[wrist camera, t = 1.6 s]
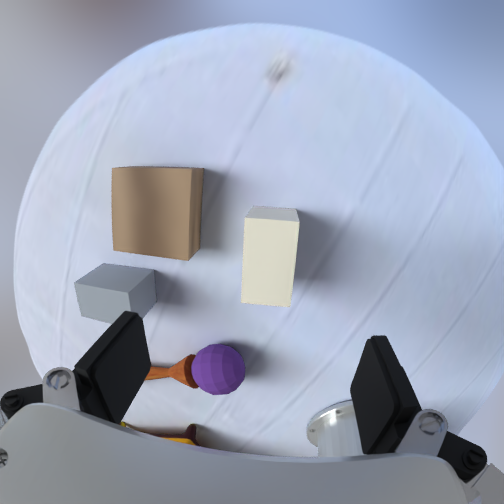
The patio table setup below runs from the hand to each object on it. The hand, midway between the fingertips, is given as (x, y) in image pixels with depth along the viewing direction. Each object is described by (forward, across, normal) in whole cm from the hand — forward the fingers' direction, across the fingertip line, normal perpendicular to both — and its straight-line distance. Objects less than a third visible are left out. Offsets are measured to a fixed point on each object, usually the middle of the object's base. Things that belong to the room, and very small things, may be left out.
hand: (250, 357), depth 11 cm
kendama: (+18, +11, +17) cm, 27 cm away
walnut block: (+18, +11, -3) cm, 21 cm away
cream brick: (+17, 0, 0) cm, 17 cm away
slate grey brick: (+17, +16, +6) cm, 24 cm away
